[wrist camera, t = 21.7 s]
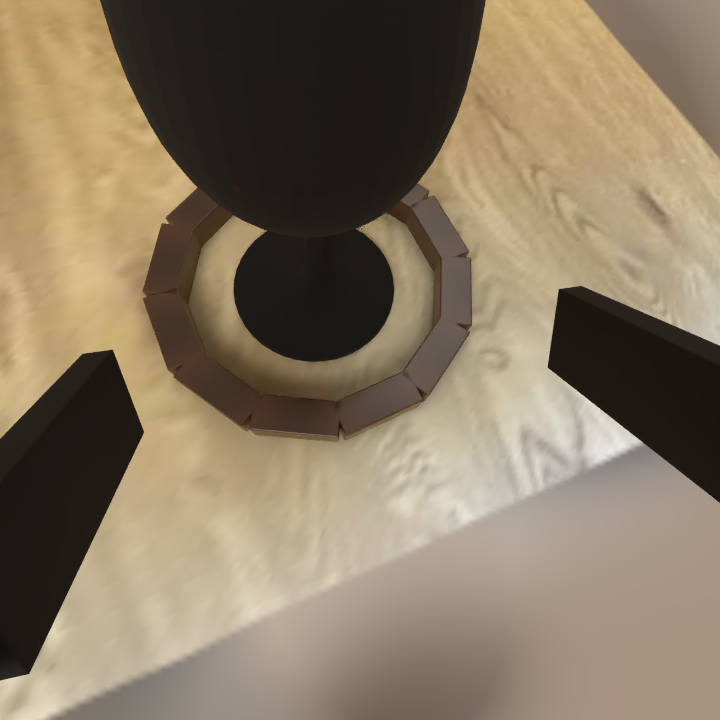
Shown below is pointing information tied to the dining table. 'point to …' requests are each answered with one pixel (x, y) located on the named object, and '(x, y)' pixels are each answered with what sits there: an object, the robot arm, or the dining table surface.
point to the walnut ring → (292, 414)
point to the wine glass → (302, 138)
